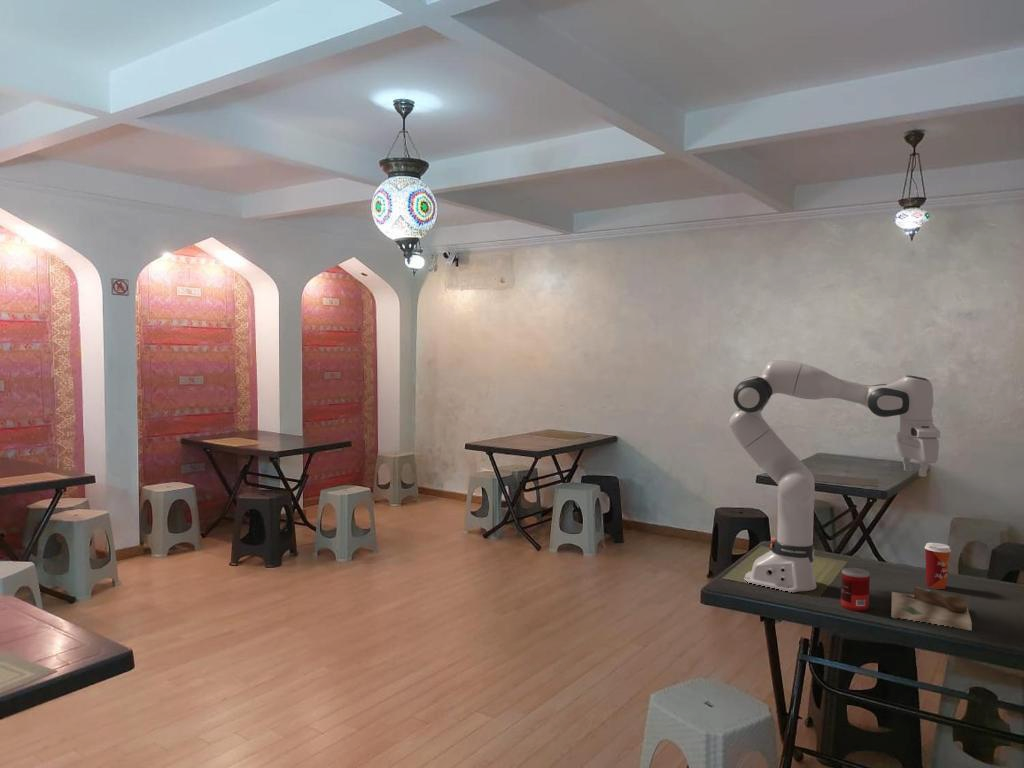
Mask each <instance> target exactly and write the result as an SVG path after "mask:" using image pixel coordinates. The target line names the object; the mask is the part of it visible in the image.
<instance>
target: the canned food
mask: <svg viewBox="0 0 1024 768" xmlns="http://www.w3.org/2000/svg"><path fill="white" fill-rule="evenodd" d="M870 574H871V573H870V572H869V571H868V570H866V569H863V568H858V567H844V568H842V569H841V579H840V580H841V581H840V582H841V586H840V606H841V608H844V609H846V610H849V611H853V612H864V611H865V612H866V611H867V610H868V608H869V604H870V585H871V584H870V583H871V581H870V580H871V575H870Z"/></svg>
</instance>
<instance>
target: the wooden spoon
mask: <svg viewBox="0 0 1024 768" xmlns="http://www.w3.org/2000/svg"><path fill="white" fill-rule="evenodd" d="M913 593H914V594H913V595H914V598H917V599H920V600H924V601H927V602H930V603H934V604H937V605H940V606H944V607H947V608H948V609H949V610H951V611H955V612H967V608H968V597H966V596H963V595H957V594H946V593H945V594H944V593H942V592H937V591H934V590H930V589H927V588H924V587H920V586H915V587H914V592H913Z"/></svg>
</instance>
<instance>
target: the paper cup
mask: <svg viewBox="0 0 1024 768" xmlns="http://www.w3.org/2000/svg"><path fill="white" fill-rule="evenodd" d="M924 549H925V550H924V551H925V582H926V583H925V584H926V587H927V586H929V587H932V588H935V589H934V590H937V589H944V590H946V588H947V581H948V575H949V573H948V572H949V564H950V555H951V552H952V549H951V547H950V546H949V545H948V544H945V543H939V542H927V543H925V546H924ZM929 587H928V588H929ZM932 588H931V589H932Z"/></svg>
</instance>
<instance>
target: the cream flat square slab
mask: <svg viewBox="0 0 1024 768" xmlns="http://www.w3.org/2000/svg"><path fill="white" fill-rule="evenodd" d="M968 608H969V607H967V612H955V611H951V610H949V609H948V608H947V607H944V606H940V605H937V604H934V603H930V602H927V601H924V600H920V599H917V598H914V594H910V593H909V594H908V593H901V592H896V591H891V614H890V617H892V618H893V619H897V618H900V619H899V620H903V619H908V620H907V621H909V620H913V621H912V622H915V621H920V622H919V623H921V622H926V623H925V624H928V623H931V624H930V625H934V624H937V625H936V626H940V625H944V626H943V627H946V626H949V627H948V628H952V627H954V629H959V630H966V631H973V629H972V628H973V627H972V626H973V623H972V618H971V616H970V612H969V609H968Z"/></svg>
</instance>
